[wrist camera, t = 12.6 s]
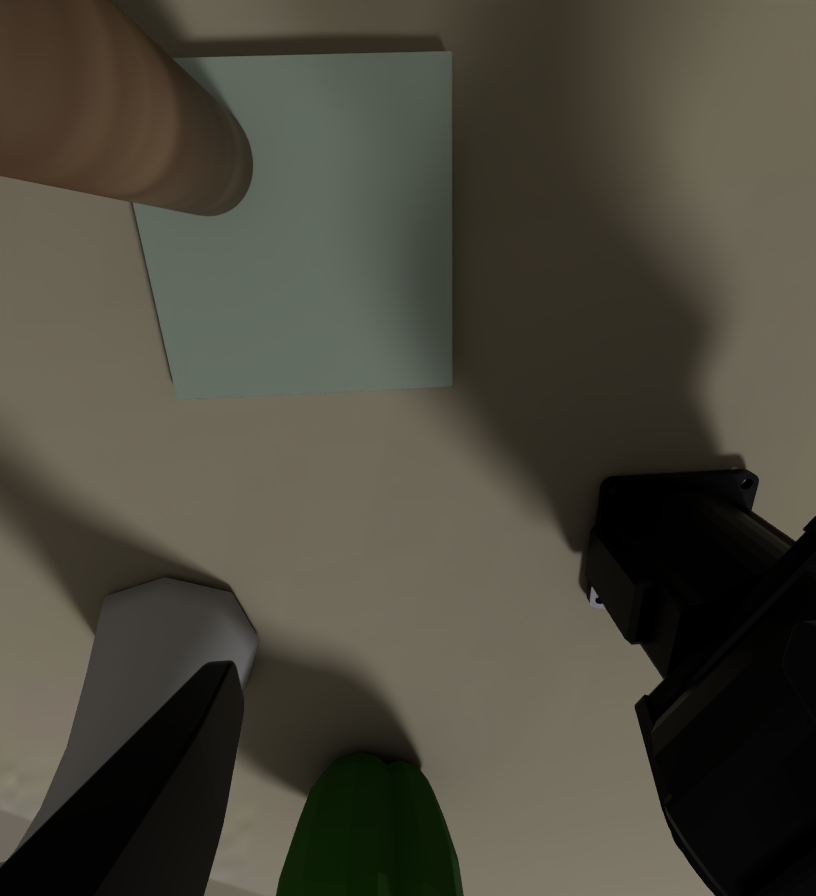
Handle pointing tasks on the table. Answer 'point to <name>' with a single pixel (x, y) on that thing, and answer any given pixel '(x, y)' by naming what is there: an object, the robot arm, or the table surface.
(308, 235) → the green pad
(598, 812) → the table surface
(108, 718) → the flask
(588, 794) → the table surface
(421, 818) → the bell pepper
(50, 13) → the walnut peg
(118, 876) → the robot arm
